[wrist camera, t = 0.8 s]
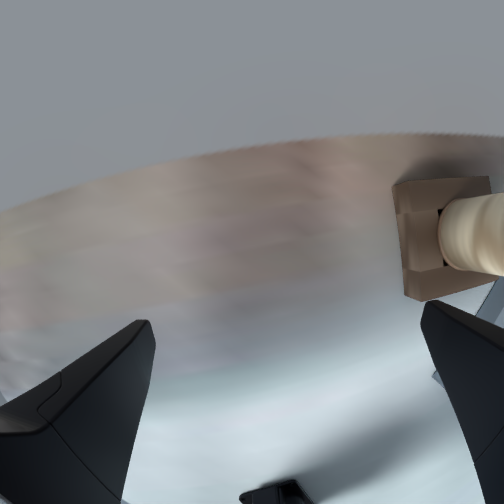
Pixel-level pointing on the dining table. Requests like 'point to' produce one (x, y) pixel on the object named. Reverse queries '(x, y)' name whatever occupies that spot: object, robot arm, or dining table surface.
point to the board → (489, 311)
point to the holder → (432, 235)
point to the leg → (473, 234)
